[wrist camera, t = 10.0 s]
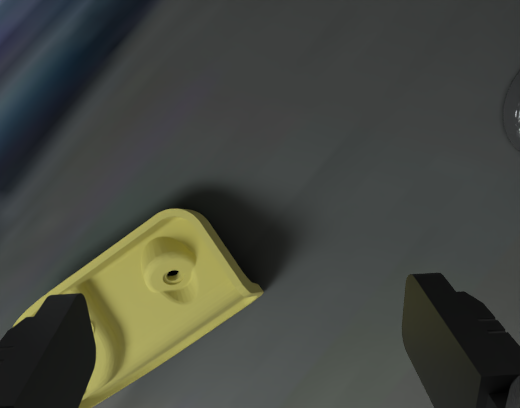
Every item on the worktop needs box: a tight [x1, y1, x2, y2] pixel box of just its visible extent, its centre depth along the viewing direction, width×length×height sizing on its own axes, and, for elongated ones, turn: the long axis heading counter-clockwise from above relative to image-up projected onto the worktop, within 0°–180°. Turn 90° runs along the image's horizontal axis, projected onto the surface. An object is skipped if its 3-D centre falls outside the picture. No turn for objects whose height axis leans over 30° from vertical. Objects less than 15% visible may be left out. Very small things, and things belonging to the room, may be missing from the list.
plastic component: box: [13, 209, 264, 408], centre depth 39 cm, size 20×7×10 cm
